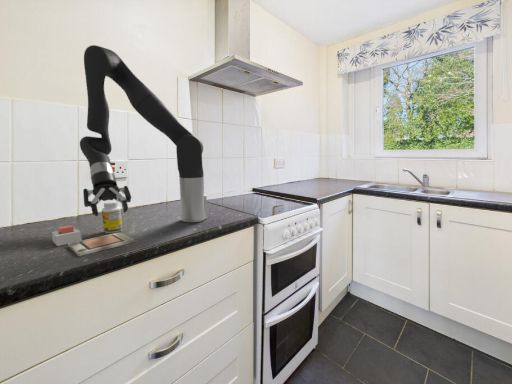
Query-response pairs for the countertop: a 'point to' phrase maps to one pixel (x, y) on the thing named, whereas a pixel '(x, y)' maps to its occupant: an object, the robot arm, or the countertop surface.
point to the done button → (65, 229)
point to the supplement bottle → (112, 217)
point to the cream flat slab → (99, 243)
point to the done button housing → (66, 237)
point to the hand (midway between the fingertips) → (111, 212)
